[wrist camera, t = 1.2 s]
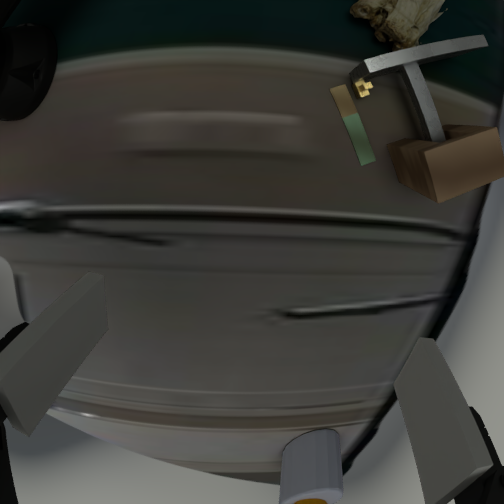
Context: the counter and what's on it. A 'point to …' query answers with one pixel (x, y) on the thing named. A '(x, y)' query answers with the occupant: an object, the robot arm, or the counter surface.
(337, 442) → the soap bottle
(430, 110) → the plate
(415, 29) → the mushroom
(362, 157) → the base
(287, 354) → the counter surface
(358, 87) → the telltale
